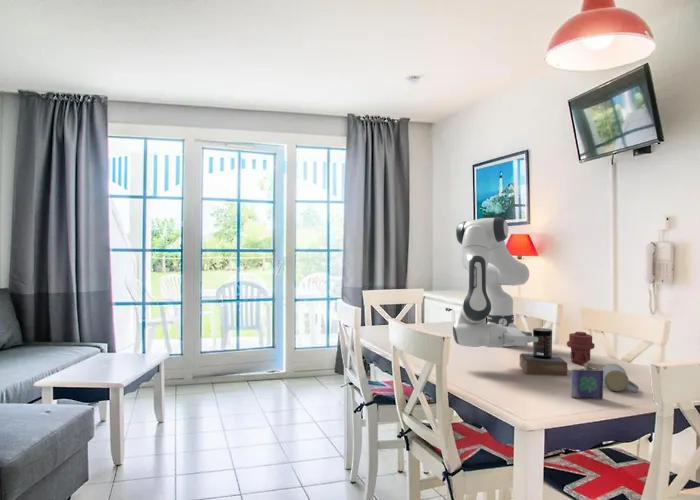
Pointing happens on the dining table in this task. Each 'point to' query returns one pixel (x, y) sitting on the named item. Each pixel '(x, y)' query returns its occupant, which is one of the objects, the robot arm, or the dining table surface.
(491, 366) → the dining table surface
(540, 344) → the supplement container
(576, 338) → the mechanical component
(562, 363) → the walnut stand
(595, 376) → the flask
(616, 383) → the ceramic mug
